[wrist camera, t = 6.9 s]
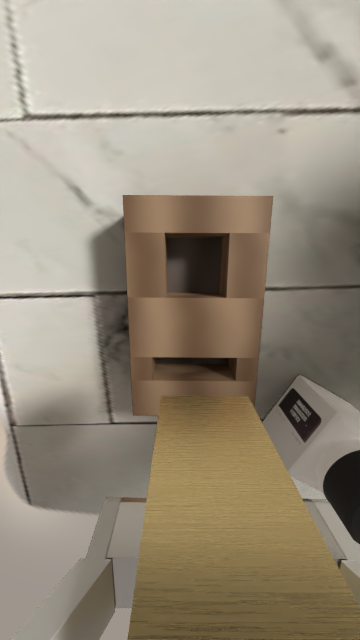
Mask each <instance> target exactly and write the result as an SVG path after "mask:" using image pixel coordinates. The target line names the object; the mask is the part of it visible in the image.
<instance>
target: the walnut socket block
mask: <svg viewBox="0 0 360 640" xmlns="http://www.w3.org/2000/svg"><path fill="white" fill-rule="evenodd" d="M272 204H273V196H171V195H123V210H124V232H125V253H126V275H127V297H128V319H129V340H130V362H131V384H132V406H133V415H147V416H158V414H159V406H160V399H161V395H165V396H248V397H249V399H250V401H251V403H252V405H253V406H255V395H256V384H257V372H258V361H259V350H260V339H261V328H262V316H263V305H264V294H265V283H266V272H267V260H268V249H269V238H270V227H271V215H272Z"/></svg>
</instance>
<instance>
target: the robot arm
mask: <svg viewBox="0 0 360 640" xmlns="http://www.w3.org/2000/svg"><path fill="white" fill-rule="evenodd" d="M146 501H147V498H120V497H106V499H105V501H104V503H103V506H102V509H101V512H100V515H99V518H98V521H97V525H96V528H95V531H94V534H93V537H92V540H91V543H90V546H89V550H88V553H87V556H86V559H80V560H79V561H78V562H77V563H76V564H75V566H74V567H73V568H72V569H71V570H70V571H69V573H68V574H67V575H66V576H65V577H64V578H63V580H61V582H60V583H59V584H58V585H57V586H56V588H55V589H54V590H53V591H52V592H51V593H50V594H49V596H48V597H47V598H46V599H45V600H44V601H43V602H42V604H41V605H40V606H39V607H38V608H37V609H36V610H35V612H34V613H33V614H32V615H31V616H30V617H29V619H28V620H27V621H26V622H25V623H24V624H23V626H22V627H21V628H20V629H19V630H18V631H17V632H16V634H15V635H14V636H13V637H12V638H11V639H10V640H99V639H100V637H101V635H102V634H103V632H104V630H105V628H106V627H107V625H108V623H109V621H110V619H111V618H112V616H113V614H114V612H115V608H132V603H133V595H134V588H135V581H136V574H137V566H138V559H139V552H140V545H141V537H142V530H143V523H144V515H145V508H146ZM303 501H304V503H305V505H306V507H307V509H308V511H309V513H310V515H311V516H312V518H313V520H314V522H315V524H316V526H317V528H318V530H319V532H320V533H321V535H322V537H323V539H324V541H325V543H326V545H327V547H328V549H329V551H330V552H331V554H332V556H333V558H334V560H335V562H336V564H337V566H338V568H339V569H340V571H341V573H342V575H343V577H344V579H345V581H346V583H347V585H348V587H349V588H350V590H351V592H352V594H353V596H354V598H355V600H356V602H357V604H358V606H359V607H360V550H359V548H358V547H357V545H356V543H355V542H354V540H353V539H352V537H351V535H350V534H349V532H348V531H347V529H346V528H345V526H344V525H343V523H342V521H341V520H340V518H339V517H338V515H337V514H336V512H335V510H334V509H333V507H332V506H331V504H330V503H329V502H328V501H327V500H326V499H303Z"/></svg>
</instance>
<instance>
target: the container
mask: <svg viewBox="0 0 360 640" xmlns="http://www.w3.org/2000/svg"><path fill="white" fill-rule="evenodd" d="M263 425H264V427H265V429H266V431H267V433H268V435H269V437H270V439H271V441H272V442H273V444H274V446H275V448H276V450H277V452H278V454H279V456H280V458H281V460H282V461H283V463H284V465H285V467H286V469H287V471H288V473H289V475H290V476H291V477H293V478H295V479H297V480H299V481H301V482H303V483H305V484H307V485H309V486H311V487H313V488H315V489H317V490H319V491H321V492H323V494H324V495H325V497H326V499H327V500H328V502H329V503H330V504H331V506H332V507H333V509H334V510H335V512H336V514H337V515H338V517H339V518H340V520H341V521H342V523H343V525H344V526H345V528H346V529H347V531H348V532H349V534H350V535H351V537H352V539H353V540H354V541H356V542H357V543H359V544H360V411H358V410H357V409H356V408H355V407H353V406H352V405H351V404H350V403H348V402H347V401H345V400H343V399H341V398H340V397H338V396H336V395H335V394H333V393H331V392H329V391H328V390H326V389H324V388H322V387H321V386H319V385H317V384H315V383H314V382H312V381H310V380H309V379H307V378H305V377H303V376H301V375H299V376H297V377H296V379H295V380H294V381H293V383H292V384H291V385H290V387H289V388H288V389H287V391H286V392H285V393H284V395H283V396H282V397H281V398H280V400H279V401H278V402H277V404H276V405H275V406H274V408H273V409H272V410H271V412H270V413H269V414H268V415H267V417H266V418H265V419H264V421H263Z"/></svg>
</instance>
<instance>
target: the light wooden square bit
mask: <svg viewBox="0 0 360 640" xmlns="http://www.w3.org/2000/svg"><path fill="white" fill-rule="evenodd" d="M127 640H360V607H359V606H358V604H357V602H356V600H355V598H354V596H353V594H352V592H351V590H350V588H349V587H348V585H347V583H346V581H345V579H344V577H343V575H342V573H341V571H340V569H339V568H338V566H337V564H336V562H335V560H334V558H333V556H332V554H331V552H330V551H329V549H328V547H327V545H326V543H325V541H324V539H323V537H322V535H321V533H320V532H319V530H318V528H317V526H316V524H315V522H314V520H313V518H312V516H311V515H310V513H309V511H308V509H307V507H306V505H305V503H304V501H303V499H302V497H301V496H300V494H299V492H298V490H297V488H296V486H295V484H294V482H293V480H292V479H291V477H290V475H289V473H288V471H287V469H286V467H285V465H284V463H283V461H282V460H281V458H280V456H279V454H278V452H277V450H276V448H275V446H274V444H273V442H272V441H271V439H270V437H269V435H268V433H267V431H266V429H265V427H264V425H263V424H262V422H261V420H260V418H259V416H258V414H257V412H256V410H255V408H254V406H253V405H252V403H251V401H250V399H249V397H248V396H165V395H161V399H160V406H159V414H158V421H157V428H156V435H155V443H154V450H153V457H152V464H151V472H150V479H149V486H148V494H147V501H146V508H145V515H144V523H143V530H142V537H141V545H140V552H139V559H138V566H137V574H136V581H135V588H134V595H133V603H132V610H131V618H130V625H129V632H128V639H127Z"/></svg>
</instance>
